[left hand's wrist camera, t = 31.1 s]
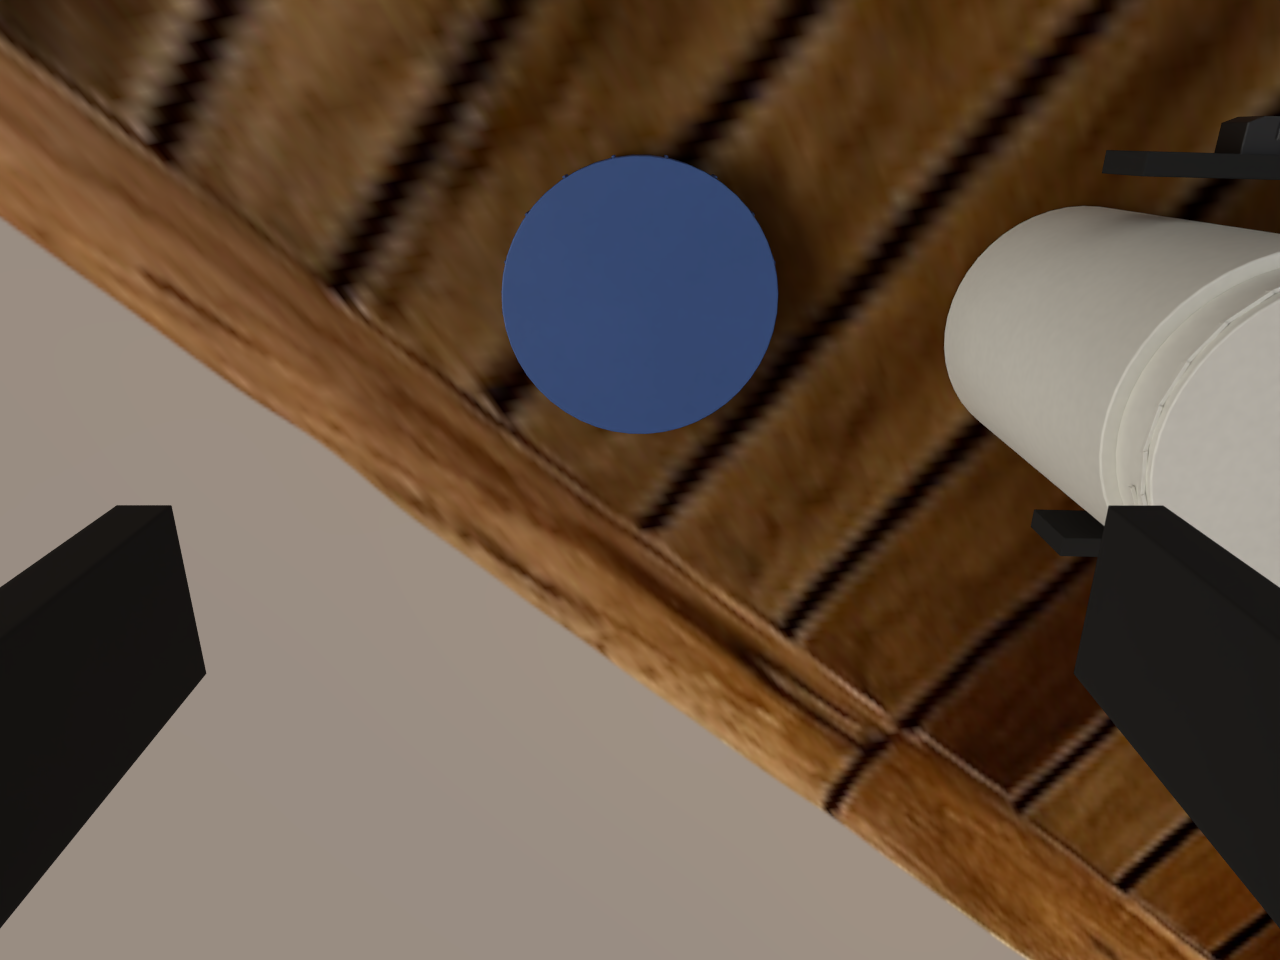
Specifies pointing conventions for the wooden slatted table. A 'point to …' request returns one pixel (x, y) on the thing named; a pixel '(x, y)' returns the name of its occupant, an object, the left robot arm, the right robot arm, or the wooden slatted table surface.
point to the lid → (639, 294)
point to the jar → (1133, 365)
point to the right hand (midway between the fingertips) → (1081, 361)
